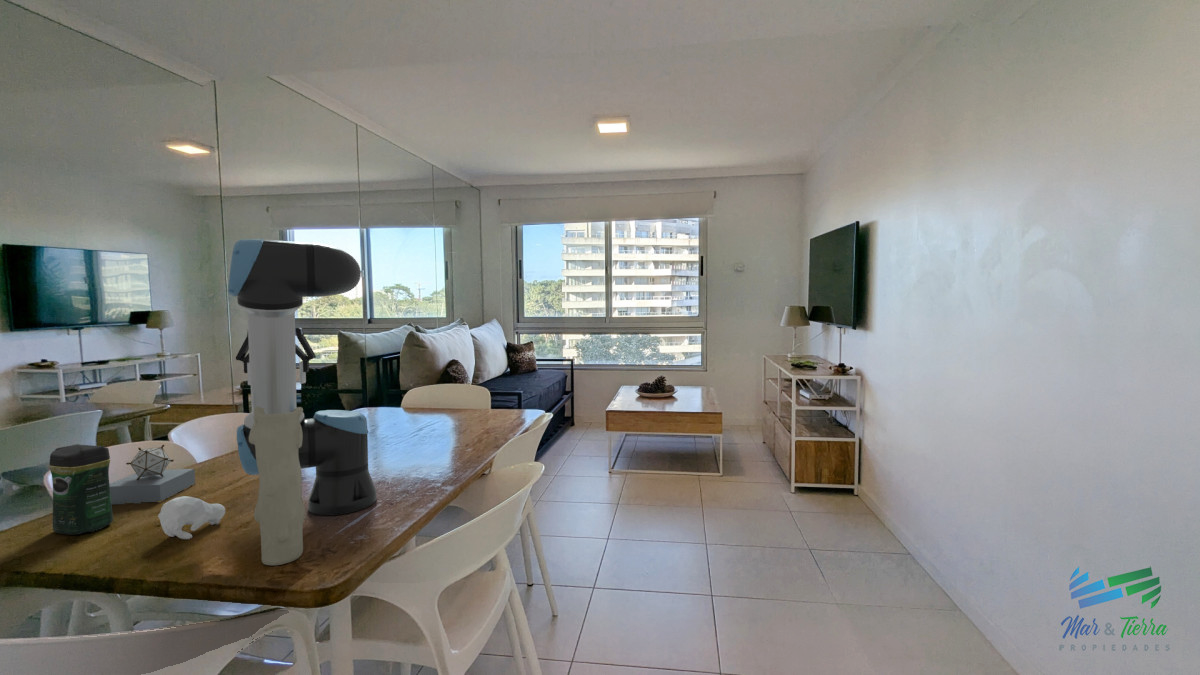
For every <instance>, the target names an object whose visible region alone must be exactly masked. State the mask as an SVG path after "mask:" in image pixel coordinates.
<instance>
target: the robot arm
mask: <svg viewBox="0 0 1200 675" xmlns="http://www.w3.org/2000/svg"><path fill="white" fill-rule="evenodd" d="M229 268H230V269H229V275H228V277H229V278H228V285H227V286H228V287H227V290H228V291H227V293H228V295H229V296H232V297H233V298H234V297H237V299H236V300H237V305H238V307H240V308H241V309H242V310H244V311H246V314H247V317H246V318H247V332H246V337H245V340H244V341H243V343H242V345H241V347H240V348H239V350H238V352H237V354H236V356H235V360H236V361H240V362H242V363H243V373H244V374H247V385H248V386H250V400H251V404H250V405H251V411H250V412H249V414H247V415H246V416H245V417H244V420H243V424H241V425H239V426H238V427H237V428H236V443H237V450H238V452H237V453H238V457H239V460H240V464H241V467H242V470H243V471H244V472H245V473H246V474H248V475H250V476H256V475H258V476H259V472H258V467H257V462H256V450H255V445H254V444H251V443H250V442H249V434H250V431H251V428H252V426H253V424H254V408H255V407H260V408H263V409H264V412H265V414H282V413H289V412H293V410H294V409H295V408H297V407H298V406H297V368H296V367H297V364H296V362H297V361H296V360H297V359H296V357H297V356H298V358H299V359H300V360H301V361H299V384H301V385H302V384H306V382H307V376H306V375H307V373H308V372H309V371H310V361H311V360H313V359H316V358H317V355H316V354H315V352H314V349H313V348H312V347H311V345H310V343H309V342H308V341H309V340H308V339H306V336H305V333H304V329H303V328H302V327H297V328H296V315H295V314H296V312H297V310H299V309H300V308H301V307H302V306H303V305H304V304H303V303H304V302H303V300H304V298H305V297H307V298H313V297H316V298H317V297H318V298H319V297H321V298H322V297H331V296H336V295H341V294H345V293H348V292H350V291H352V290H353V289H354V288H356V286H357V285H358V284H359V282H360V280H361V277H362V276H361V275H362V271H361V267H360V265H359V263H358V261H357V260H356V259H355V257H354V256H352V255H351V254H350V253H348V252H346V251H344V250H343V249H340V248H338V247H335V246H332V245H330V244H329V245H328V244H324V243H318V242H302V241H289V240H279V239H278V240H276V239H275V240H274V239H264V238H256V239H255V238H254V239H253V238H252V239H250V238H249V239H247V238H242V239H238V240H237V241H236V242H235V243H234V244H233V247H232V253H231V260H230V267H229ZM296 338H297V340H298V341H299V344H300V345H301V346H302V348H303V350H304V351H303V350H302V349H301V348H300V346H298V344H296ZM299 420H300V425H301V428H302V434H303V440H302V446H301V447H300V448H299V449H298V456H299V462H300V467H301V470H303V469H308V468H315V479H314V482H313V485H312V488H311V491H310V494H309V497H308V501H307V502H308V512H310V513H311V514H314V515H318V516H340V515H345V514H351V513H354V512H355V513H356V512H358V511H361V510H365V509H366V508H369V507H370V506H372V505H373V504H375V502H376V501H377V488H376V487H375V483H374V481H373V479H372V476H371V473H370V470H369V446H368V445H369V444H368V443H369V440H368V436H369V435H368V434H369V430H368V429H369V428H368V420H367V417H366V416H365V415H364V414H363V413H361V412H357V411H352V410H343V409H326V410H318V411H316V412H315V413H314V415H313V418H305V413H304V411H303V412H302V414H301V416H300V419H299Z"/></svg>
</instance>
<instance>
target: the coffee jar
mask: <svg viewBox="0 0 1200 675" xmlns="http://www.w3.org/2000/svg"><path fill="white" fill-rule="evenodd" d="M110 463H111V455H110V450H109V448H108V447H106V446H103V445H90V444H89V445H88V444H79V443H76V444H72V445H71V444H70V445H66V446H61V447H57V448H55V449H54V451H53V450H52V452H51V453H50V455H49V464H48V465H49V466H48V467H49V471H50V474H51V479H52V531H53V532H54V533H56V534H61V535H62V534H63V535H71V536H72V535H80V534H83V533H84V534H85V533H88V532H95V530H96V531H98V529H99V530H101V529H103V528H105V527H107V526H109V525H110V524H111V523H113V519H114V517H113V516H114V515H113V506H112V505H113V504H111V496H110V485H109V484H110V474H109V473H110V472H109V471H110V470H109V469H110Z"/></svg>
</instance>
